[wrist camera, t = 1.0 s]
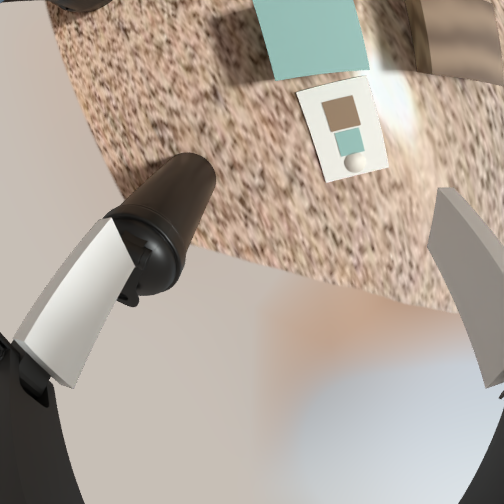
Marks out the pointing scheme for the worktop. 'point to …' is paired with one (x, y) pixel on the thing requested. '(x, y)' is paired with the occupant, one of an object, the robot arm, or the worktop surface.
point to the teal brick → (311, 36)
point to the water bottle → (162, 223)
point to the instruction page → (344, 128)
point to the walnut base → (456, 39)
